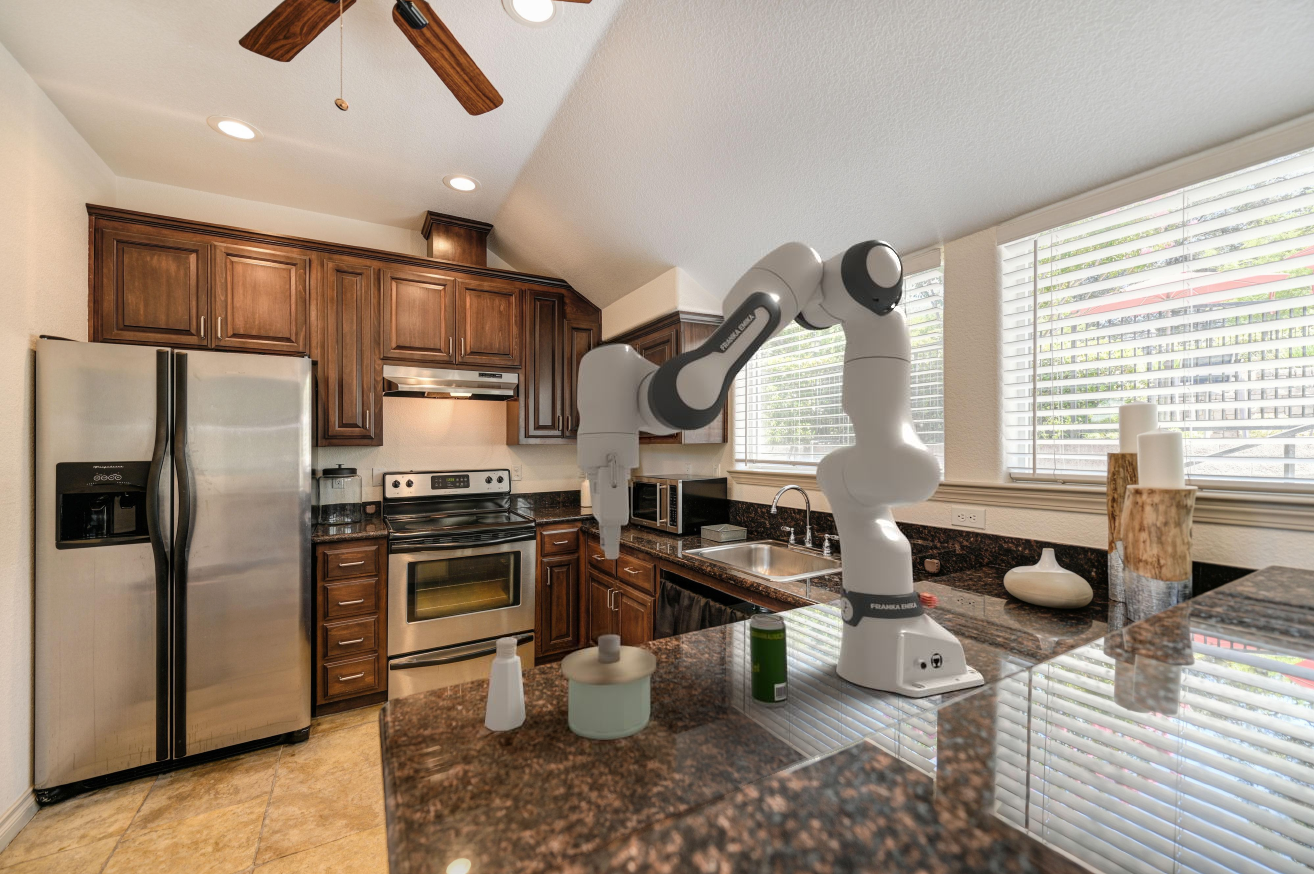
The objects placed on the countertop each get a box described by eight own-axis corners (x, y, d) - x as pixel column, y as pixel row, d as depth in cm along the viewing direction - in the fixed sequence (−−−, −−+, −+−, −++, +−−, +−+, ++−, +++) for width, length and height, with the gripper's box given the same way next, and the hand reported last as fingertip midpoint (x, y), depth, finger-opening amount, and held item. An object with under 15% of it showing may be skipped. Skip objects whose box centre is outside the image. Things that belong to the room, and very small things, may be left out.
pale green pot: (643, 700, 78) (642, 652, 78) (655, 735, 67) (654, 678, 68) (568, 706, 76) (568, 657, 77) (568, 743, 65) (568, 685, 66)
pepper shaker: (509, 734, 68) (510, 647, 69) (475, 727, 70) (477, 642, 71) (533, 717, 73) (534, 636, 74) (501, 711, 75) (503, 632, 76)
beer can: (796, 701, 77) (793, 618, 78) (772, 711, 74) (770, 624, 75) (767, 690, 81) (764, 611, 82) (743, 700, 78) (741, 617, 79)
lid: (648, 649, 80) (648, 622, 80) (663, 681, 67) (663, 648, 67) (562, 655, 77) (562, 627, 78) (560, 688, 65) (560, 655, 65)
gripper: (639, 451, 65) (641, 563, 64) (623, 459, 85) (624, 545, 84) (588, 451, 64) (589, 565, 63) (584, 459, 84) (584, 546, 83)
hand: (609, 553), depth 74 cm, fingers open, 8 cm apart
